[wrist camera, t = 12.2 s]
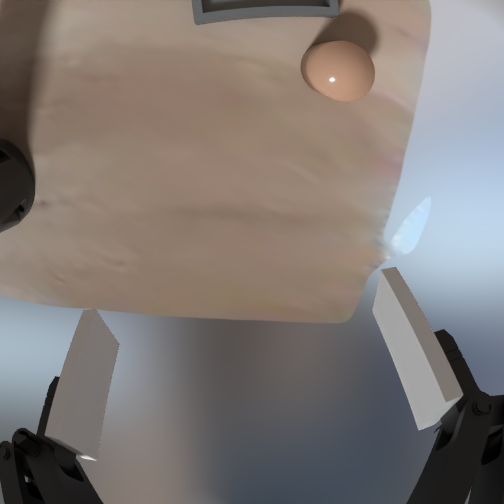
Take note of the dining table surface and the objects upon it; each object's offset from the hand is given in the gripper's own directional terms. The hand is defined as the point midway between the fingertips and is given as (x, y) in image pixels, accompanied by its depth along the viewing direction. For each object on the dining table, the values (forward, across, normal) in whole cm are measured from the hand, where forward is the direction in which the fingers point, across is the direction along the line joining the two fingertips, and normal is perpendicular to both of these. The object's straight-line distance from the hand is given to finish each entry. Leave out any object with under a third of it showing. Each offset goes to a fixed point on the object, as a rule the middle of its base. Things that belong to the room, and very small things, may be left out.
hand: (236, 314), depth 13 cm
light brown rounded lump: (+28, +13, +8) cm, 32 cm away
